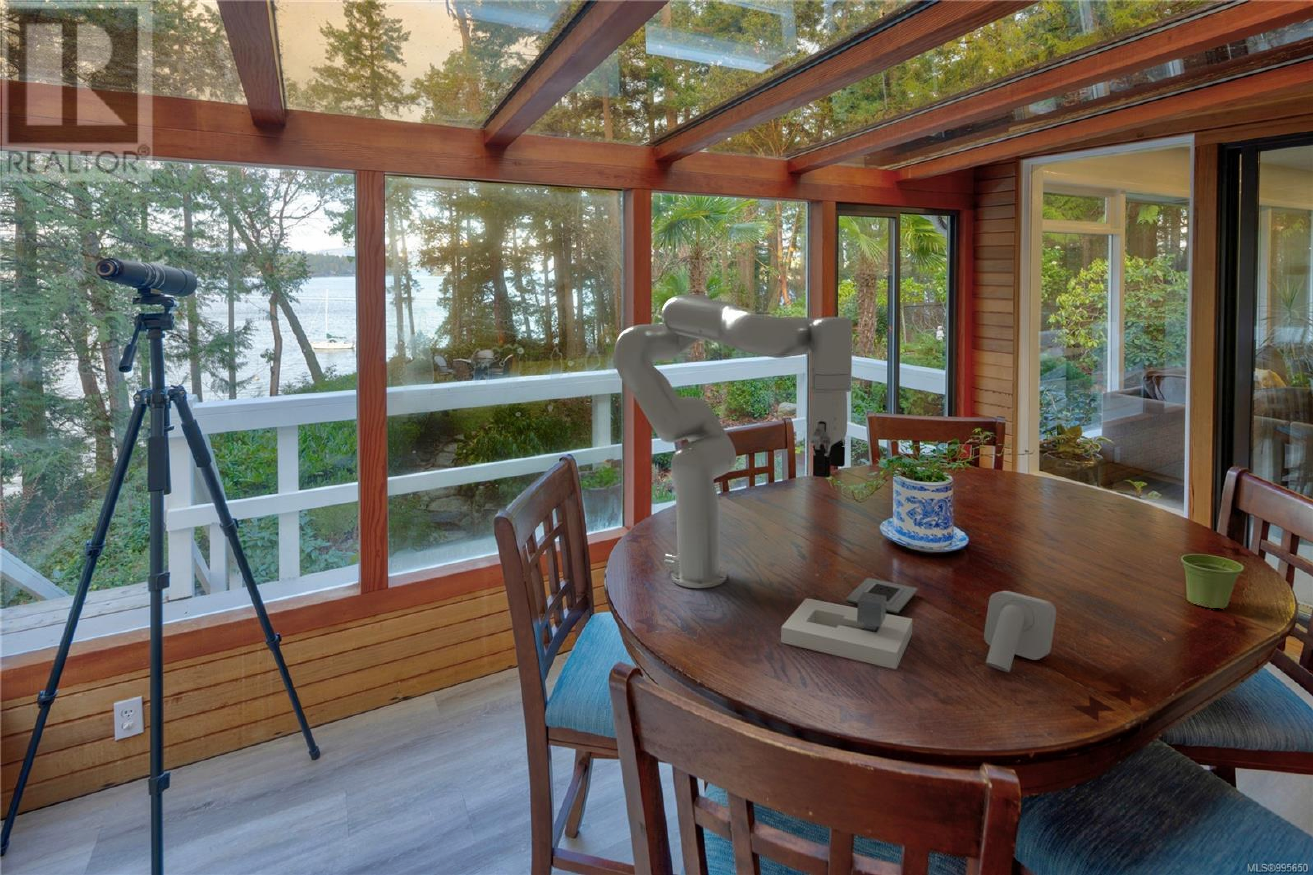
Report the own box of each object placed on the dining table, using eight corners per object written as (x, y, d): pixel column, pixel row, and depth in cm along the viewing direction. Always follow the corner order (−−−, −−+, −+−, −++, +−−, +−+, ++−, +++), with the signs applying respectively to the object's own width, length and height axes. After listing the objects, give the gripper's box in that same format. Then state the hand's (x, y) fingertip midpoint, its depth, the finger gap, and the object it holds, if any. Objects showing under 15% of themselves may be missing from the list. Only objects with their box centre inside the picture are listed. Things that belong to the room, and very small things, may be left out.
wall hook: (963, 662, 110) (973, 593, 110) (988, 652, 119) (998, 588, 118) (1025, 684, 103) (1036, 610, 103) (1047, 671, 112) (1058, 603, 112)
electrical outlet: (867, 586, 144) (868, 576, 144) (917, 597, 138) (918, 587, 138) (844, 608, 134) (845, 597, 134) (897, 621, 128) (898, 610, 127)
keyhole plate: (781, 642, 120) (781, 627, 120) (806, 612, 132) (806, 598, 131) (896, 669, 110) (896, 652, 109) (911, 634, 122) (912, 618, 121)
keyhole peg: (855, 646, 118) (856, 600, 116) (861, 635, 122) (862, 591, 120) (880, 651, 116) (882, 605, 114) (886, 641, 120) (887, 595, 118)
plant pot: (1232, 619, 124) (1238, 575, 122) (1170, 603, 131) (1175, 561, 129) (1243, 604, 129) (1248, 562, 128) (1183, 590, 137) (1187, 550, 135)
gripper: (824, 378, 135) (823, 460, 138) (796, 387, 120) (795, 479, 123) (862, 379, 131) (860, 463, 134) (837, 388, 116) (835, 483, 119)
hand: (829, 471), depth 129 cm, fingers open, 9 cm apart
